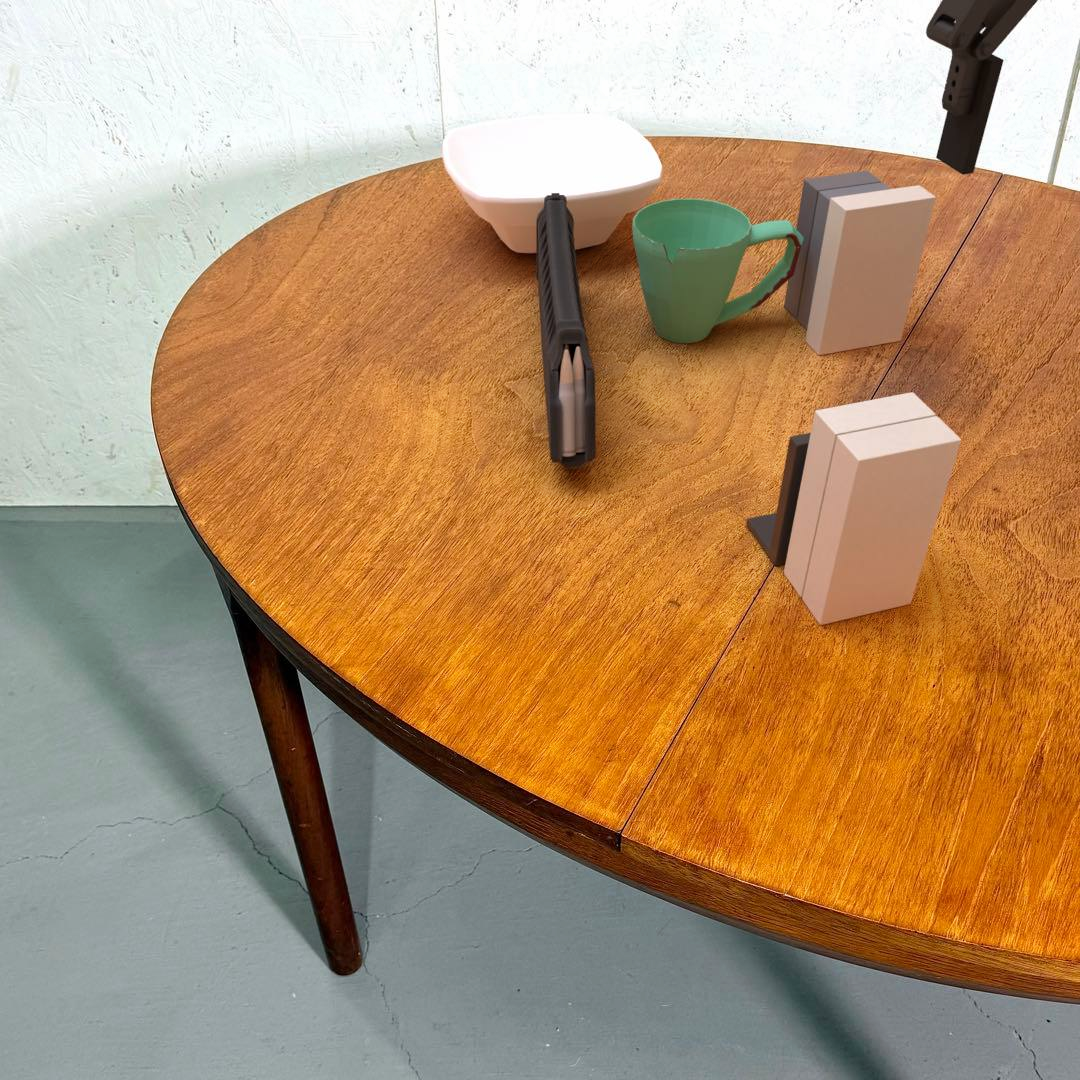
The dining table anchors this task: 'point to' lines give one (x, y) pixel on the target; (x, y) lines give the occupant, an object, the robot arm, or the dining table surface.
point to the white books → (859, 505)
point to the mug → (702, 264)
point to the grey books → (819, 232)
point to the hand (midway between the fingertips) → (1046, 150)
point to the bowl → (552, 173)
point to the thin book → (868, 268)
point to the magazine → (564, 339)
